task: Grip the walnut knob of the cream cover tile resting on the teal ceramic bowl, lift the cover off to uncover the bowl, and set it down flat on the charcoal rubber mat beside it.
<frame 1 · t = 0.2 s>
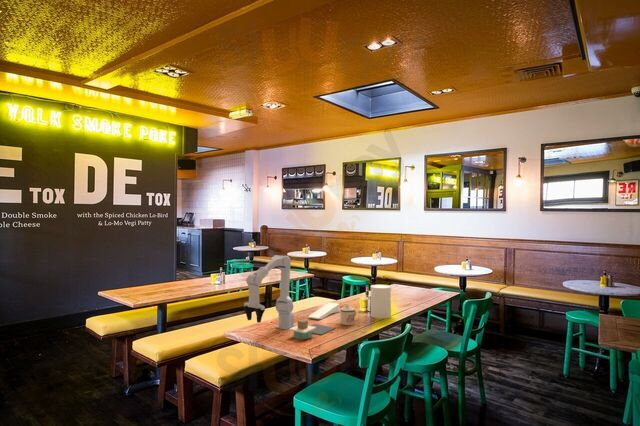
hand: (254, 321, 213), 10 cm above the table, tool pointing down, fingers open, 7 cm apart
cover: (302, 329, 217), point 4 cm above the table, touching bowl
canister: (380, 316, 261), on the table
white wedge ramp: (324, 315, 264), on the table
teacup with lid: (349, 323, 244), on the table
mat: (318, 329, 230), on the table
bowl: (302, 336, 217), on the table
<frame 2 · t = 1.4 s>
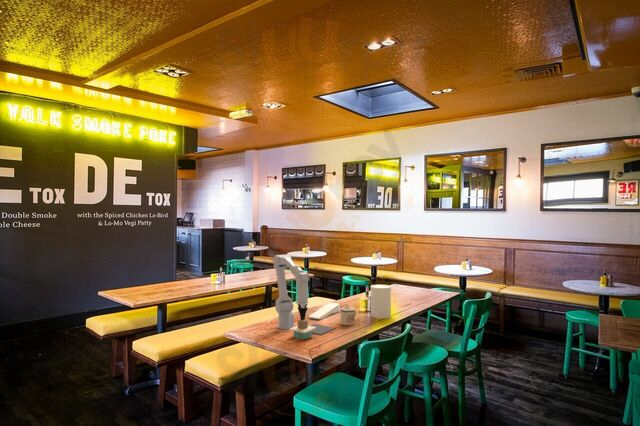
hand: (302, 317, 217), 10 cm above the table, tool pointing down, fingers open, 7 cm apart
nothing on the table moved.
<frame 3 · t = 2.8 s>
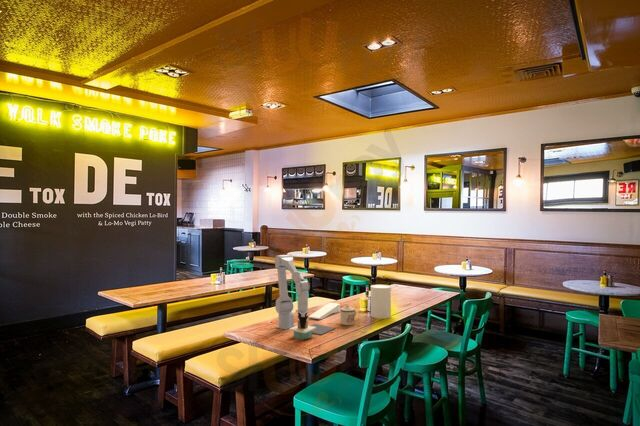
hand: (302, 326, 217), 6 cm above the table, tool pointing down, fingers closed on cover, 6 cm apart
cover: (302, 329, 217), point 4 cm above the table, touching bowl, gripper
everything else where it was.
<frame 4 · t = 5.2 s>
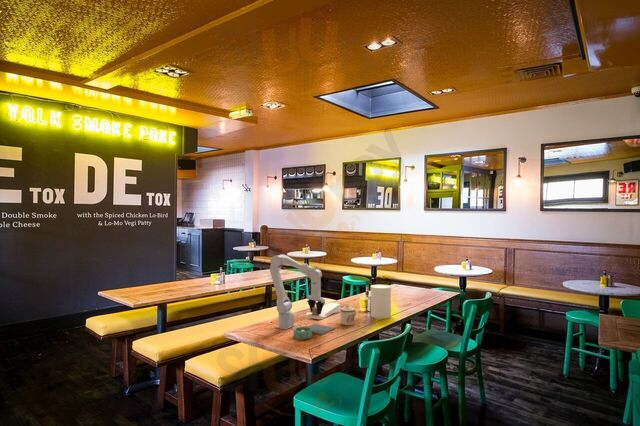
hand: (315, 313, 228), 10 cm above the table, tool pointing down, fingers closed on cover, 6 cm apart
cover: (315, 315, 228), point 9 cm above the table, touching gripper
everything else where it was.
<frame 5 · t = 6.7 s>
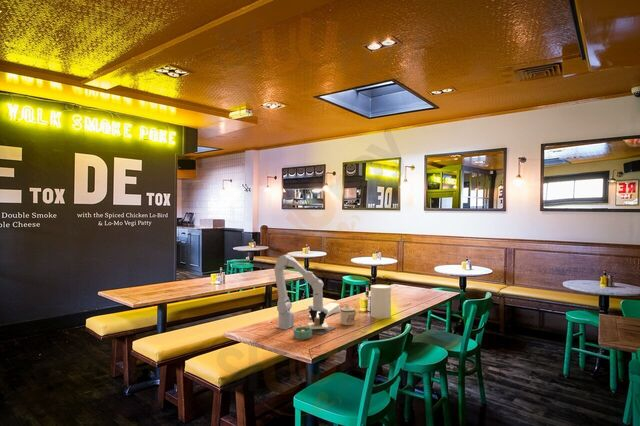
hand: (318, 323, 230), 4 cm above the table, tool pointing down, fingers closed on cover, 6 cm apart
cover: (317, 326, 230), point 2 cm above the table, touching gripper
everything else where it was.
when the fingers open (4 cm above the table, at t = 7.8 s): cover drops 1 cm, resting on mat.
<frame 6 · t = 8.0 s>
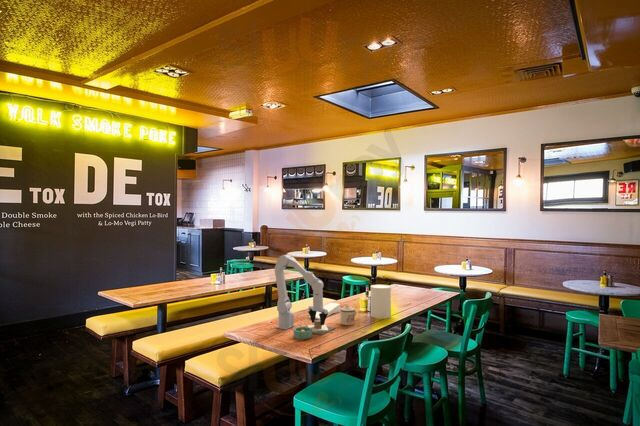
hand: (318, 323, 230), 4 cm above the table, tool pointing down, fingers open, 7 cm apart
cover: (317, 328, 230), point 1 cm above the table, touching mat
everything else where it was.
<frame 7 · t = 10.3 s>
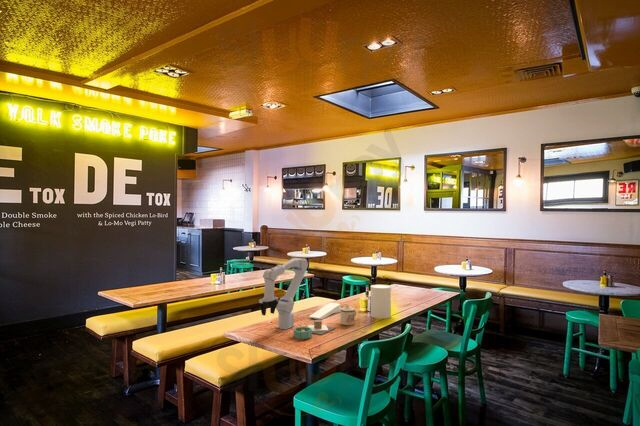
hand: (268, 314, 225), 11 cm above the table, tool pointing down, fingers open, 7 cm apart
nothing on the table moved.
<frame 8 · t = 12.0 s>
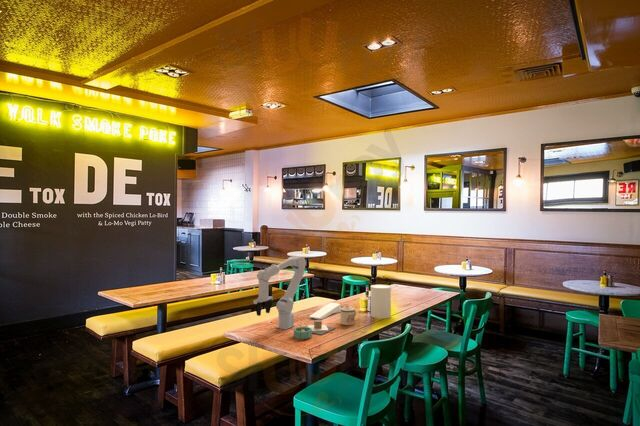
hand: (263, 314, 226), 10 cm above the table, tool pointing down, fingers open, 7 cm apart
nothing on the table moved.
at the end: cover inside the target area on the mat (0.1 cm from its centre), point 0.6 cm above the mat's base; cover tilted 0°; the gripper is holding nothing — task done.
